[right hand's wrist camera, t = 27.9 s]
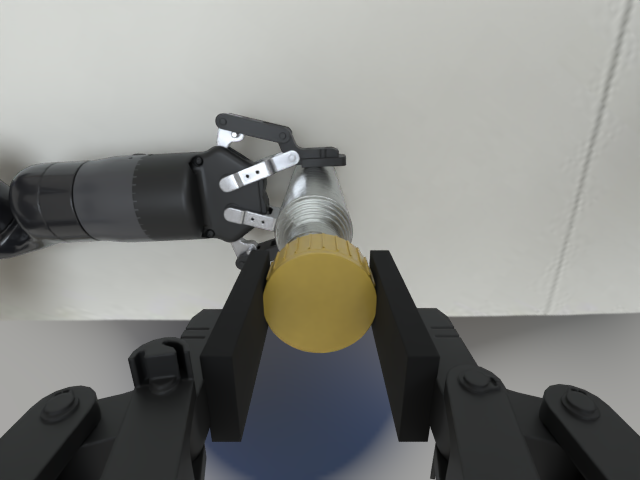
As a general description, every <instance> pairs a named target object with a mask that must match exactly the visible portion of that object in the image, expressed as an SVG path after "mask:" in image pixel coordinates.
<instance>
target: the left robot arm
mask: <svg viewBox="0 0 640 480" xmlns="http://www.w3.org/2000/svg"><path fill="white" fill-rule="evenodd" d="M215 121H216V125H217V126H218V136H217V144H216V146H214V147H212V148H211V149H209V150H208V151H205V152H191V153H171V154H150V155H146V154H133V155H130V156H116V157H110V158H105V159H100V160H91V161H71V162H51V163H42V164H37V165H32V166H29V167H27V168H25V169H23V170H21V171H20V172H19V173H18V174H17V175H16V176H15V177H14V179H13V180H12V182H11V185H10V186H8V185H7V184H6V183H4V182H3V181H2V180H0V259H6V258H12V257H15V256H19V255H22V254H26V253H29V252H33V251H36V250H40V249H43V248H46V247H49V246H52V245H54V244H57V243H60V242H86V241H117V242H148V241H168V240H190V239H207V238H218V239H221V240H223V241H226V242H231V244H232V247H233V249H234V251H235V253H236V256H237V260H236V266H237V268H239V269H241V270H242V268H243V266H244V264H245V262H246V260H247V258H248V256H249V253H250V251H251V250H269V252H270V261H273V260H274V259H275V257H276V255H277V252H280V251H279V249H278V246H277V244H276V239H272V240H268V241H265V242H262V243H259V244H258V243H257V242H256V241H254V240H245V239H243V236H244V235H246V234H247V233H248V232H249V231H251V230H252V229H253V228H254V227H257V228H261V229H265V230H269V231H275V224H276V220H277V218H278V215H279V212H280V209H281V208H278V207H274V206H270V205H269V199H268V196H267V193H266V185H267V177H268V176H270V175H272V174H274V173H276V172H278V171H281V170H284V169H286V168H289V167H291V166H294V165H302V168H308V167H329V166H344V165H346V156H345V155H344V154H339V151H338V149H336V148H334V147H318V148H301V147H299V146H298V145H297V144H296V142H295V140H294V137H293V135H292V131H291V129H290V128H289V127H286V126H282V125H278V124H274V123H269V122H265V121H261V120H257V119H253V118H248V117H244V116H240V115H236V114H232V113H223V114H219V115H218V116H217V117H216V120H215ZM245 135H248V136H252V137H256V138H261V139H265V140H269V141H273V142H278V143H279V146H280V148H281V150H282V152H280V153H277V154H275V155H271V156H269V157H266V158H264V159H261V160H259V161H256V162H253V161H251V160H250V159H248V158H246V157H245V156H243V155H242V154H240V153H239V152H237V151H235V150H234V149H232V148H231V147H230V145H231V143H232V142H239V141H241V140H243V139H244V138H245ZM263 221H264V222H263Z"/></svg>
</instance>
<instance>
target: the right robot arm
mask: <svg viewBox="0 0 640 480" xmlns="http://www.w3.org/2000/svg"><path fill="white" fill-rule="evenodd" d="M369 267H370V269H371V272H372V275H373V278H374V281H375V286H374V287H375V290H376V295H377V300H376V314H375V318H374V320H373V322H372V324H371V326H372V330H373V335H374V339H375V343H376V347H377V352H378V356H379V360H380V364H381V368H382V373H383V377H384V381H385V385H386V389H387V394H388V398H389V402H390V407H391V411H392V415H393V419H394V423H395V428H396V432H397V436H398V440H399V442H427V441H428V436H429V429H430V427H431V430H432V433H433V436H434V439H435V442H436V444H435V450H434V457H433V463H432V469H431V476H430V478H431V479H435V476H436V480H640V436H639V435H638V434H637V433H636V432H635V431H634V430H633V429H632V428H631V427H630V426H629V425H628V424H627V423H626V422H625V421H624V420H623V419H622V418H621V417H620V416H619V415H618V414H617V413H616V412H615V411H614V410H613V409H612V408H611V407H610V406H609V405H607V404H606V403H605V402H603V401H602V400H601V399H600V398H598V397H597V396H595V395H593V394H591V393H589V392H588V391H586V390H583V389H580V388H577V387H574V386H571V385H562V384H557V385H552V386H549V387H548V388H547V389H546V390H545V392H544V395H543V398H539V397H535V396H530V395H526V394H522V393H518V392H514V391H511V390H508V389H506V388H505V386H504V384H503V383H502V381H501V380H500V379H499V378H498V377H497V376H496V375H494V374H493V373H492V372H490V371H488V370H486V369H484V368H482V367H479V366H478V365H477V364H476V362H475V360H474V359H473V357H472V355H471V354H470V352H469V351H468V349H467V347H466V346H465V344H464V342H463V341H462V339H461V338H460V337H459V334H458V333H457V331H456V329H454V326H453V325H452V323H451V321H450V320H449V318H448V317H447V316H446V315H445V314H443V313H442V312H441V311H439V310H438V309H437V308H416V306H415V303H414V301H413V299H412V297H411V295H410V293H409V291H408V289H407V287H406V285H405V283H404V281H403V279H402V277H401V275H400V273H399V270H398V268H397V266H396V264H395V262H394V260H393V258H392V256H391V254H390V252H389V250H370V266H369ZM269 268H270V252H269V250H251V251H250V253H249V256H248V258H247V260H246V262H245V264H244V266H243V268H242V270H241V272H240V274H239V276H238V278H237V280H236V282H235V284H234V286H233V289H232V291H231V293H230V295H229V297H228V299H227V301H226V303H225V305H224V307H223V309H203V310H202V311H201V312H199V313H198V314H197V315H195V316H194V317H193V318H192V319H191V321H190V322H189V324H188V326H187V327H186V330H185V331H184V332H183V334H182V335H181V339H179V338H176V337H170V338H169V337H168V338H161V339H156V340H153V341H150V342H148V343H146V344H143V345H142V346H140V347H139V348H138V349H136V350H135V351H133V353H132V354H131V355H130V357H129V358H128V361H129V365H130V369H131V374H132V378H133V382H134V386H135V388H134V390H133V391H130V392H127V393H124V394H120V395H115V396H111V397H107V398H103V399H99V400H97V396H96V393H95V391H94V390H92V389H91V388H90V387H85V386H73V387H68V388H65V389H62V390H58V391H56V392H54V393H52V394H50V395H48V396H46V397H44V398H43V399H41V400H40V401H39V402H38V403H36V404H35V405H34V406H32V407H31V408H30V409H29V410H28V411H27V412H26V413H25V414H24V415H23V416H22V417H21V418H20V419H19V420H18V421H17V422H16V423H15V424H14V425H13V426H12V427H11V428H10V429H9V430H8V431H7V432H6V433H5V434H4V435H3V436H2V437H1V438H0V480H204V477H205V467H206V450H205V444H204V443H205V440H206V437H207V434H208V431H209V428H210V430H211V437H212V442H241V439H242V435H243V431H244V426H245V423H246V418H247V414H248V410H249V406H250V401H251V397H252V393H253V389H254V384H255V380H256V376H257V372H258V367H259V363H260V359H261V355H262V351H263V346H264V342H265V338H266V334H267V329H268V323H267V321H266V319H265V316H264V304H263V293H264V289H265V285H266V282H267V280H266V277H267V274H268V271H269Z"/></svg>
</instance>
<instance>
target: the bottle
mask: <svg viewBox="0 0 640 480" xmlns="http://www.w3.org/2000/svg"><path fill="white" fill-rule="evenodd" d="M322 233H324V234H329V235H334V236H335V235H337V237H340V238H342V239H344V240H346V241H347V240H348V241H349V242H350V243H351V241H352V236H353V228H352V222H351V219H350V216H349V213H348V209H347V206H346V203H345V200H344V197H343V194H342V190H341V187H340V184H339V181H338V178H337V174H336V171H335V169H334V167H333V166H329V167H308V168H302V165H297V166H296V167H295V169H294V172H293V175H292V178H291V181H290V184H289V186H288V189H287V192H286V195H285V198H284V201H283V203H282V206H281V209H280V212H279V215H278V218H277V220H276V224H275V239H276V244H277V246H278V249H279V251H281V249H283V248H284V247H285V246H286V244H287V243H288V244H289V243H290V242H291V241H293V240H295V239H297V237H299V238H300V237H302V236H306V235H309V234H322Z"/></svg>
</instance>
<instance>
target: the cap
mask: <svg viewBox="0 0 640 480" xmlns="http://www.w3.org/2000/svg"><path fill="white" fill-rule="evenodd" d="M266 280H267V282H266V285H265V289H264V293H263V304H264V316H265V319H266V321H267V323H268V325H269V327H270V328H271V330H272V331H273V332H274V333H275V335H277V337H278V338H280V339H281V340H282V341H283V342H285V343H287V344H288V345H290V346H292V347H294V348H297V349H299V350H303V351H307V352H314V353H326V352H333V351H337V350H340V349H343V348H345V347H348V346H350V345H351V344H353V343H355V342H356V341H357V340H359V339H360V338H361V337H362V336H363V335H364V334H365V333H366V332H367V330H368V329H369V328H370V326H371V324H372V322H373V320H374V318H375V314H376V300H377V295H376V290H375V287H374V286H375V281H374V278H373V275H372V272H371V269H370V267H369V266H368V263H367V260H366V257H364V256H363V255H362V254H361V252H360V251H359V248H358V247H357V248H356V247H355V246H354V245H352V244H351V243H350V242H349V241H348V240H347V241H346V240H344V239H342V238H340V237H337V235H335V236H334V235H329V234H324V233H322V234H309V235H306V236H302V237H300V238H299V237H297V239H295V240H293V241H291V242H290V243H289V244H288V243H287V244H286V246H285V247H284V248H283V249H281V251H280V252H277V255H276V257H275V259H274V261H273V262H271V265H270V268H269V271H268V274H267V277H266Z"/></svg>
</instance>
